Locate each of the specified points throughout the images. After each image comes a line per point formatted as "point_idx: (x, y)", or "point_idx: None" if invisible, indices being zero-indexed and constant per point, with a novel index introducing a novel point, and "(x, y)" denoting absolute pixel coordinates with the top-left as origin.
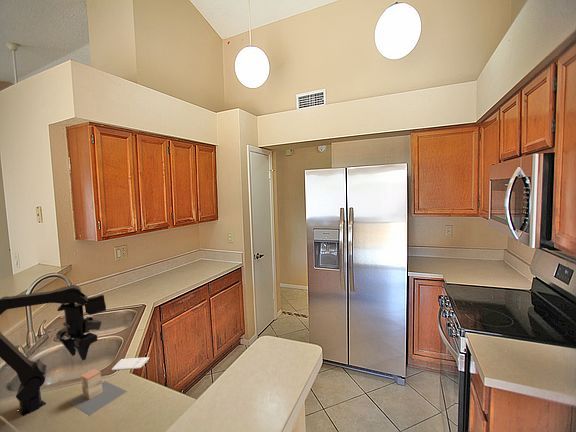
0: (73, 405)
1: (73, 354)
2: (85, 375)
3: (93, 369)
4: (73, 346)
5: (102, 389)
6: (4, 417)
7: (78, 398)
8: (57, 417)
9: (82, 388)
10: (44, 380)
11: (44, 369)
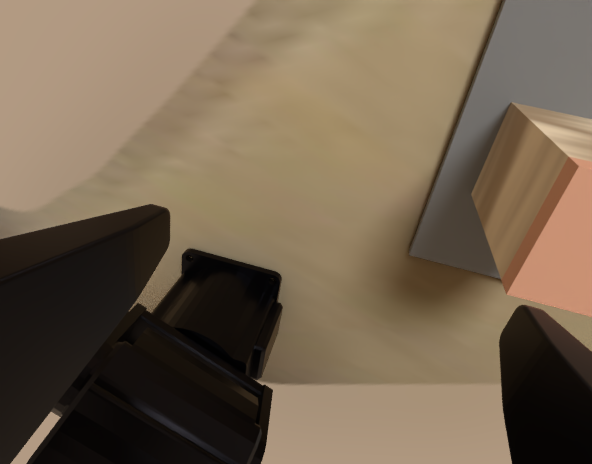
0: (483, 273)
1: (161, 243)
2: (568, 288)
3: (582, 179)
4: (46, 317)
5: (589, 97)
6: None
7: (455, 218)
8: (458, 335)
9: (481, 222)
10: (255, 415)
11: (177, 454)
